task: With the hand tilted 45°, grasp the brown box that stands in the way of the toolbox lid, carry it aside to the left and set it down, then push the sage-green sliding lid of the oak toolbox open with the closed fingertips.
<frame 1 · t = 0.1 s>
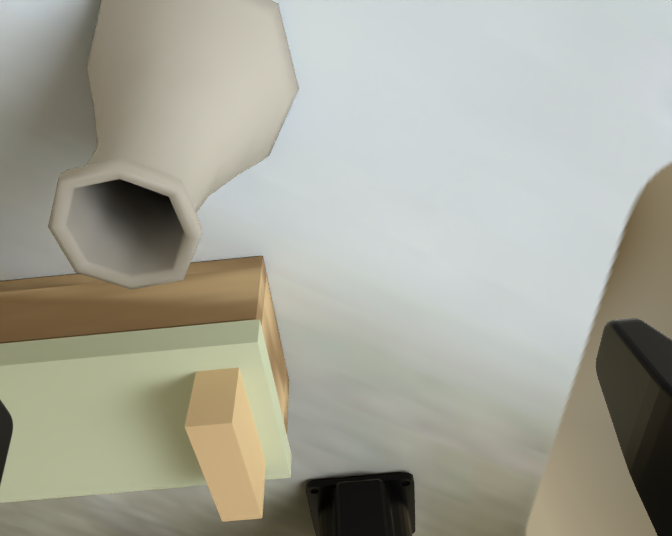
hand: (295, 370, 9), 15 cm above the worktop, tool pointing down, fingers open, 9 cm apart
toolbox: (131, 337, 28), on the worktop
lid: (93, 446, 23), point 6 cm above the worktop, slide at 0.0 cm
flask: (197, 72, 21), on the worktop
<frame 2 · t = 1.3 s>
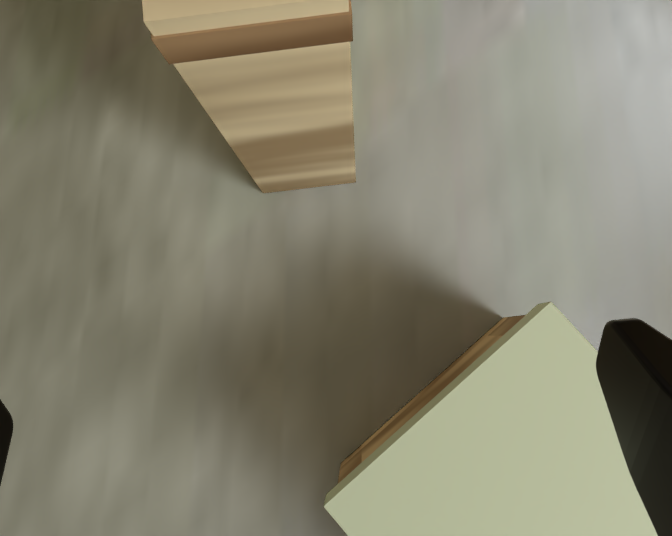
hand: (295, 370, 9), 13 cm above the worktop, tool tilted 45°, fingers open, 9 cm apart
brown box: (304, 142, 23), on the worktop
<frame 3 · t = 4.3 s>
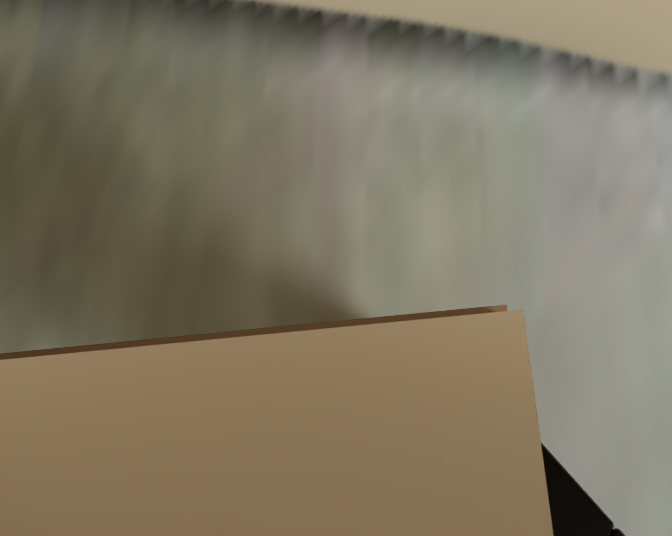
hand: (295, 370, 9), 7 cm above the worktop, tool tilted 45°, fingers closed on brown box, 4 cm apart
brown box: (329, 412, 15), on the worktop, touching gripper
when the fingers open (8 cm above the worktop, at t = 7.5 s): brown box drops 1 cm, on the worktop.
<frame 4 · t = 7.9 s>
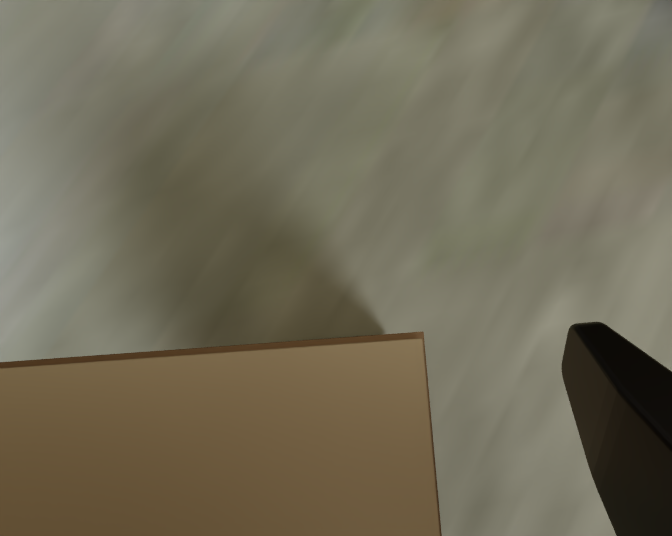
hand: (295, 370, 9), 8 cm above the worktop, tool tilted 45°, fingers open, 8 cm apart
brown box: (330, 405, 16), on the worktop
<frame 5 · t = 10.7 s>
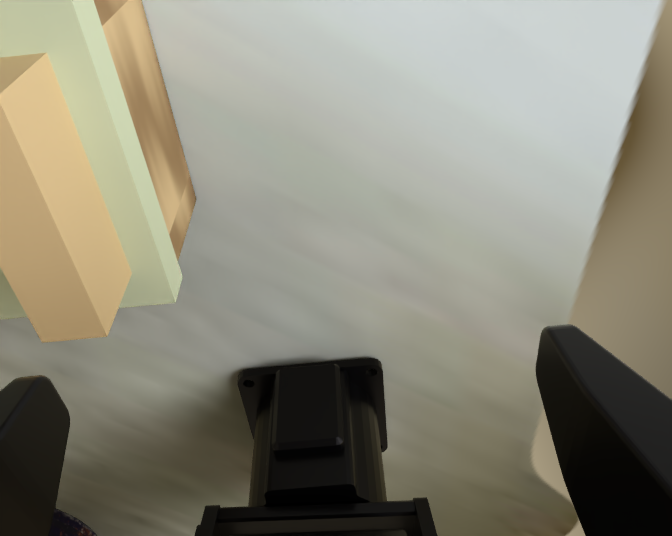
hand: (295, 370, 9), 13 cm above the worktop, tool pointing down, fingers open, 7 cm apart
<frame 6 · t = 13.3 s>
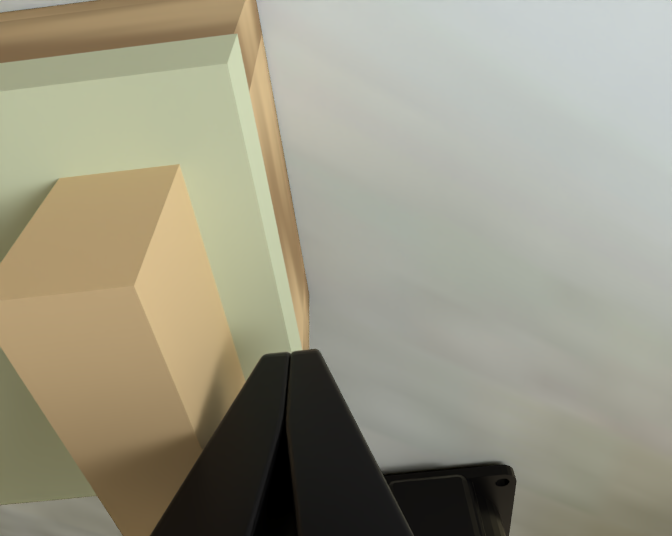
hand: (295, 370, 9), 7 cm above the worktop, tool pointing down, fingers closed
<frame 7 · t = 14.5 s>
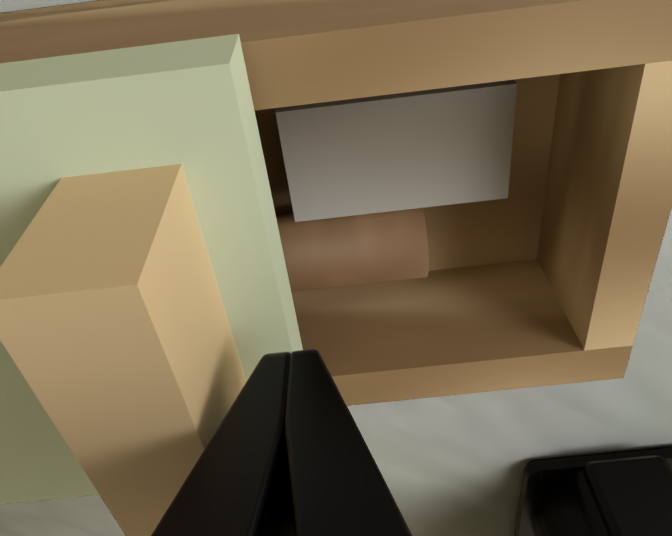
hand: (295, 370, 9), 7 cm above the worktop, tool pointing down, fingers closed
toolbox: (282, 165, 14), on the worktop
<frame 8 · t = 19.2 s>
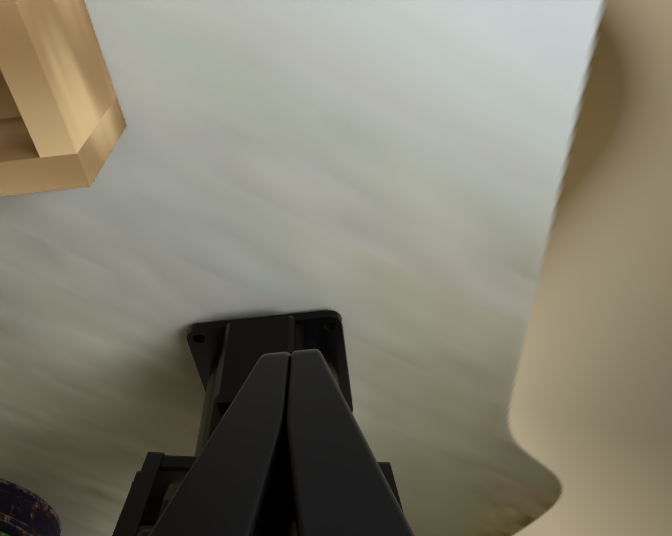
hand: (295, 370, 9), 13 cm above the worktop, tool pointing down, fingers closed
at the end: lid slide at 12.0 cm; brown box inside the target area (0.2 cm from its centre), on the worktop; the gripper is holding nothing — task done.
